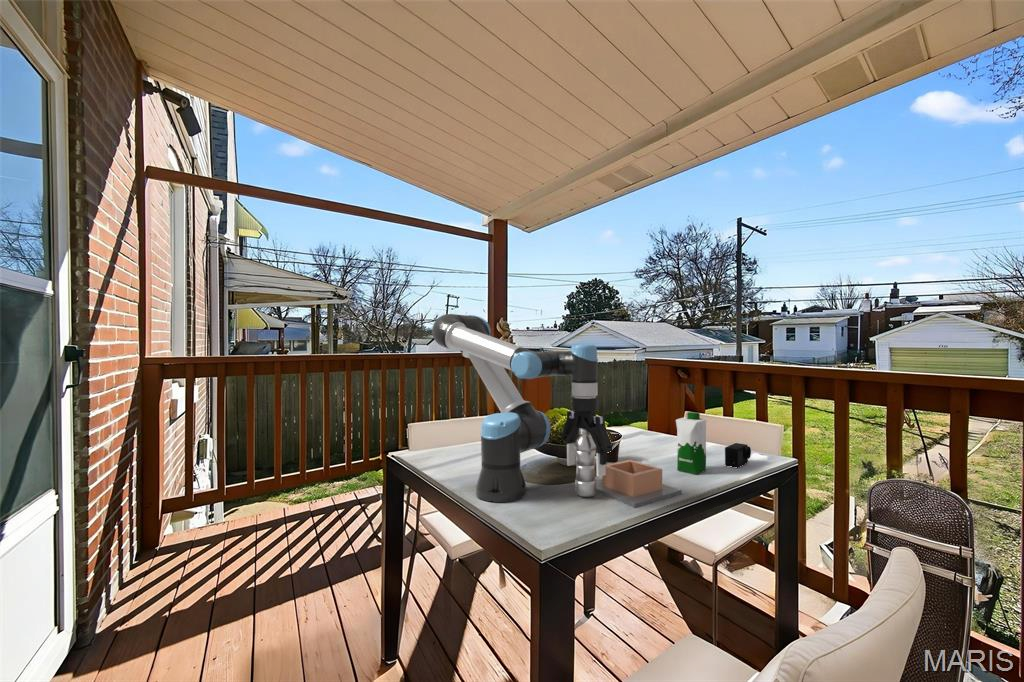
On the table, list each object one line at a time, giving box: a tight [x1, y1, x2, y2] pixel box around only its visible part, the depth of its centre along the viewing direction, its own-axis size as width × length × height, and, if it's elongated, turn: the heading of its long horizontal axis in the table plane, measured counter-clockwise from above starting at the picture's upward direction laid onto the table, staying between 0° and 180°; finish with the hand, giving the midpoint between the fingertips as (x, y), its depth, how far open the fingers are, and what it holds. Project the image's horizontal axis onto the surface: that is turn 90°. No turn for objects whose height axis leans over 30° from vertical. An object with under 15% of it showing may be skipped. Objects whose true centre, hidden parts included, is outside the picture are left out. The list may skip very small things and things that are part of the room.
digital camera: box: [724, 442, 752, 469], centre depth 157 cm, size 10×5×7 cm, turn 133°
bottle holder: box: [596, 459, 682, 508], centre depth 130 cm, size 20×20×7 cm
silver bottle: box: [574, 427, 597, 498], centre depth 126 cm, size 6×7×20 cm
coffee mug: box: [606, 431, 621, 464], centre depth 165 cm, size 12×9×10 cm
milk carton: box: [675, 411, 707, 475], centre depth 150 cm, size 9×9×20 cm
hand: (585, 470), depth 126 cm, fingers open, 12 cm apart
